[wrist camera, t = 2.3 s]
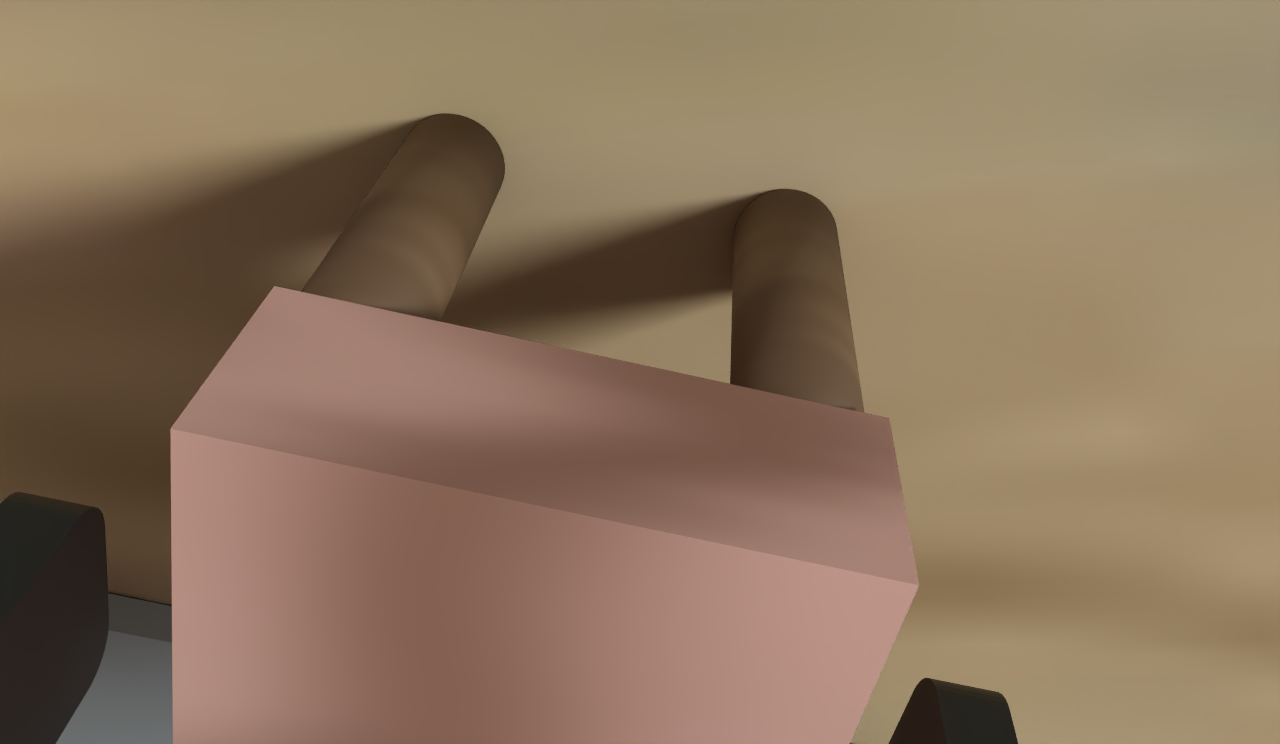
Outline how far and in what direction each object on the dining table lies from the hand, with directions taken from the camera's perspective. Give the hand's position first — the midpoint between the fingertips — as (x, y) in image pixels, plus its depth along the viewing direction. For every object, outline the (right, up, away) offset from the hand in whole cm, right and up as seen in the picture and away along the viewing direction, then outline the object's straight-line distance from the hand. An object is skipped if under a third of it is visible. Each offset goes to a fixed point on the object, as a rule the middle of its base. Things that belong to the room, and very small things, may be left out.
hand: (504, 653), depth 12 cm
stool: (+1, +3, +6) cm, 7 cm away
